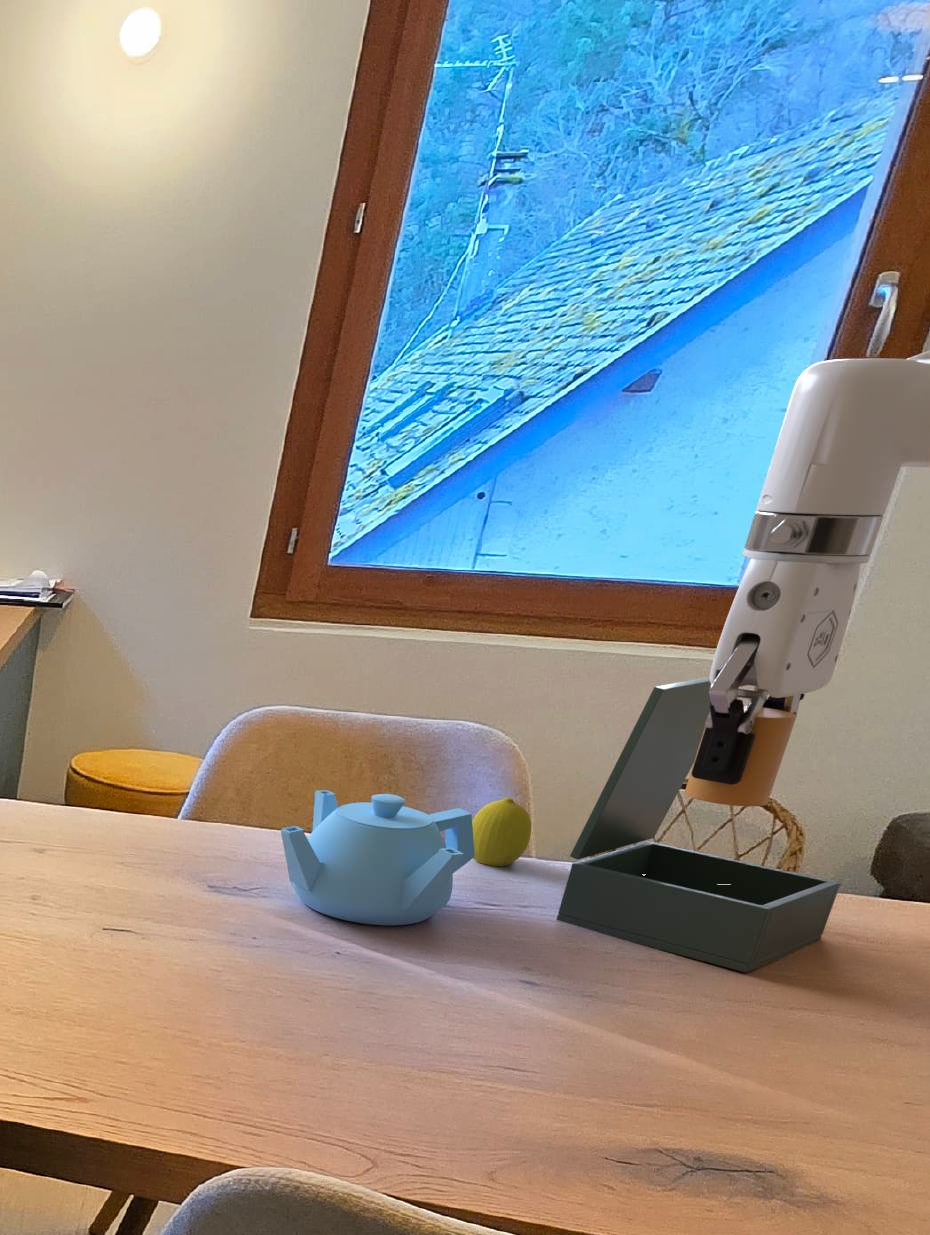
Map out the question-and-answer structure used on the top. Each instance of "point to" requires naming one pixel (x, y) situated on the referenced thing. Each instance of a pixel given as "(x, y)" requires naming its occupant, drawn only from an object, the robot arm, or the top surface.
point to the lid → (648, 769)
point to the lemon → (501, 832)
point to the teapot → (377, 859)
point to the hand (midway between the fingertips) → (733, 774)
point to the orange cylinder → (751, 764)
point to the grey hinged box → (698, 904)
